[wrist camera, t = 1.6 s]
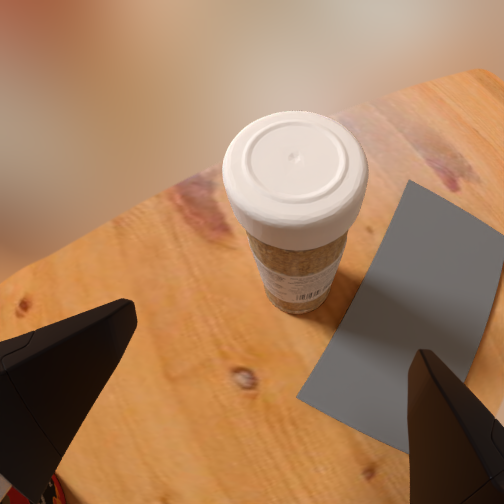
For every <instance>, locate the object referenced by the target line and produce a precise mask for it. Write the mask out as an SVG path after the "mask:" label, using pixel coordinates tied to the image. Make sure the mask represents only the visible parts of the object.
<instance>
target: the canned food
mask: <svg viewBox="0 0 504 504" xmlns="http://www.w3.org/2000/svg"><path fill="white" fill-rule="evenodd" d="M7 495H8V496H9V498H10V504H34V503H33V502H31V501H30V500H29V499H27V498H26V497H25V496H23V495H22V494H21V493H20V492H18V491H17V490H16V489H15V488H13V487H11V488H10V490H9V491H8V492H7ZM37 504H66V501H65V497H64V493H63V491H62V488H61V486H60V484H59V482H58V480H57V478H56V477H55V475H54V474H53V476H52V478H51V480H50V481H49V483H48V485H47V487H46V489H45V491H44V493H43V494H42V496H41V498H40V500H39V502H38V503H37Z"/></svg>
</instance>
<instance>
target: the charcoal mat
mask: <svg viewBox="0 0 504 504" xmlns="http://www.w3.org/2000/svg"><path fill="white" fill-rule="evenodd" d="M503 262H504V235H502V234H501V233H499V232H498V231H496V230H495V229H493V228H492V227H490V226H488V225H487V224H485V223H484V222H482V221H481V220H479V219H477V218H476V217H474V216H473V215H471V214H469V213H468V212H466V211H464V210H463V209H461V208H459V207H458V206H456V205H454V204H453V203H451V202H449V201H447V200H446V199H444V198H442V197H440V196H439V195H437V194H435V193H433V192H432V191H430V190H428V189H426V188H424V187H422V186H420V185H419V184H417V183H415V182H413V181H411V180H409V181H408V183H407V185H406V188H405V190H404V192H403V195H402V197H401V200H400V202H399V204H398V207H397V209H396V211H395V214H394V216H393V218H392V220H391V223H390V225H389V227H388V229H387V232H386V234H385V236H384V238H383V240H382V242H381V245H380V247H379V249H378V251H377V253H376V255H375V257H374V259H373V261H372V263H371V265H370V268H369V270H368V272H367V274H366V276H365V278H364V280H363V282H362V283H361V285H360V287H359V289H358V291H357V293H356V295H355V297H354V299H353V301H352V303H351V305H350V306H349V308H348V310H347V312H346V314H345V316H344V318H343V319H342V321H341V323H340V325H339V327H338V328H337V330H336V332H335V334H334V335H333V337H332V339H331V341H330V342H329V344H328V346H327V348H326V349H325V351H324V353H323V354H322V356H321V358H320V359H319V361H318V363H317V364H316V366H315V368H314V369H313V371H312V373H311V374H310V376H309V377H308V379H307V381H306V382H305V384H304V385H303V387H302V389H301V390H300V392H299V393H298V395H297V396H296V398H298V399H300V400H301V401H303V402H305V403H307V404H309V405H310V406H312V407H314V408H316V409H318V410H320V411H321V412H323V413H325V414H327V415H329V416H331V417H333V418H335V419H336V420H338V421H340V422H342V423H344V424H346V425H348V426H350V427H352V428H354V429H356V430H358V431H360V432H362V433H364V434H366V435H368V436H370V437H372V438H375V439H377V440H379V441H381V442H383V443H385V444H387V445H389V446H392V447H394V448H396V449H398V450H401V451H403V452H405V453H407V454H409V440H408V425H407V398H408V370H409V367H410V365H411V363H412V361H413V358H414V356H415V354H416V352H417V350H418V349H430V350H432V351H433V352H434V353H435V354H436V355H437V356H438V357H439V358H440V359H441V360H442V361H443V362H444V363H445V364H446V365H447V366H448V367H449V368H450V369H451V370H452V372H453V373H454V374H455V375H456V376H457V377H458V378H459V379H460V380H461V381H462V382H463V383H464V381H465V379H466V376H467V374H468V372H469V369H470V367H471V365H472V362H473V360H474V357H475V354H476V352H477V349H478V347H479V344H480V341H481V338H482V336H483V333H484V330H485V327H486V324H487V321H488V318H489V314H490V311H491V308H492V305H493V301H494V298H495V294H496V290H497V287H498V283H499V279H500V275H501V271H502V266H503Z"/></svg>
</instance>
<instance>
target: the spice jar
mask: <svg viewBox="0 0 504 504" xmlns="http://www.w3.org/2000/svg"><path fill="white" fill-rule="evenodd" d="M222 172H223V182H224V186H225V189H226V193H227V196H228V199H229V202H230V204H231V207H232V209H233V212H234V214H235V216H236V218H237V220H238V221H239V223H240V224H241V225H242V226H243V227H244V228H245V230H246V233H247V236H248V241H249V245H250V248H251V250H252V253H253V256H254V258H255V261H256V264H257V267H258V270H259V272H260V275H261V278H262V281H263V283H264V288H265V291H266V294H267V297H268V298H269V300H270V301H271V302H272V303H273V305H274V306H275V307H277V308H279V309H280V310H282V311H284V312H287V313H292V314H303V313H307V312H310V311H311V310H314V309H316V308H317V307H319V306H320V305H321V304H322V303H323V302H324V300H325V299H326V297H327V295H328V293H329V291H330V288H331V283H332V281H333V279H334V276H335V274H336V271H337V269H338V266H339V263H340V260H341V257H342V254H343V251H344V248H345V245H346V241H347V233H348V229H349V228H350V227H351V226H352V224H353V223H354V222H355V220H356V217H357V215H358V213H359V211H360V208H361V205H362V202H363V199H364V195H365V191H366V187H367V182H368V162H367V158H366V155H365V152H364V150H363V148H362V146H361V144H360V143H359V141H358V140H357V139H356V137H355V136H354V135H353V134H352V133H351V132H350V131H349V130H348V129H347V128H345V127H344V126H343V125H341V124H340V123H338V122H337V121H335V120H333V119H331V118H328V117H326V116H323V115H320V114H315V113H312V112H305V111H285V112H279V113H274V114H270V115H268V116H265V117H262V118H260V119H258V120H256V121H254V122H252V123H251V124H249V125H248V126H246V127H245V128H244V129H243V130H242V131H240V132H239V133H238V135H237V136H236V137H235V138H234V139H233V141H232V142H231V144H230V145H229V147H228V149H227V152H226V155H225V157H224V161H223V167H222Z"/></svg>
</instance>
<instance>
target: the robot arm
mask: <svg viewBox="0 0 504 504" xmlns="http://www.w3.org/2000/svg"><path fill="white" fill-rule="evenodd" d="M136 327H137V316H136V310H135V305H134V302H133V301H132V300H128V299H124V298H121V299H118V300H116V301H113V302H110V303H107V304H105V305H102V306H99V307H97V308H94V309H91V310H88V311H86V312H83V313H80V314H78V315H75V316H72V317H69V318H67V319H64V320H61V321H59V322H56V323H53V324H50V325H48V326H45V327H42V328H40V329H37V330H35V331H31V332H29V333H26V334H23V335H20V336H17V337H14V338H11V339H8V340H5V341H1V342H0V504H10V498H9V496H8V495H7V492H8V491H9V490H10V488H11V487H13V488H15V489H16V490H17V491H18V492H20V493H21V494H22V495H23V496H25V497H26V498H27V499H29V500H30V501H31V502H33V503H34V504H37V503H38V502H39V500H40V498H41V496H42V494H43V493H44V491H45V489H46V487H47V485H48V483H49V481H50V480H51V478H52V476H53V474H54V472H55V470H56V469H57V467H58V465H59V463H60V461H61V460H62V457H63V456H64V454H65V452H66V450H67V449H68V447H69V445H70V443H71V442H72V440H73V438H74V436H75V435H76V433H77V431H78V430H79V428H80V426H81V424H82V423H83V421H84V419H85V418H86V416H87V414H88V413H89V411H90V409H91V408H92V406H93V404H94V403H95V401H96V399H97V398H98V396H99V394H100V393H101V391H102V390H103V388H104V386H105V385H106V383H107V381H108V380H109V378H110V377H111V375H112V373H113V372H114V370H115V369H116V367H117V365H118V363H119V362H120V360H121V358H122V356H123V354H124V352H125V350H126V348H127V346H128V344H129V342H130V340H131V338H132V335H133V333H134V331H135V329H136ZM407 425H408V440H409V463H410V504H504V427H503V426H502V425H501V423H500V422H499V421H498V420H497V419H495V417H494V416H493V415H492V413H491V412H490V411H489V410H488V409H487V408H486V407H485V406H484V405H483V404H482V402H481V401H480V400H479V399H478V398H477V397H476V396H475V395H474V394H473V393H472V392H471V391H470V389H469V388H468V387H467V386H466V385H465V384H464V383H463V382H462V381H461V380H460V379H459V378H458V377H457V376H456V375H455V374H454V373H453V372H452V370H451V369H450V368H449V367H448V366H447V365H446V364H445V363H444V362H443V361H442V360H441V359H440V358H439V357H438V356H437V355H436V354H435V353H434V352H433V351H432V350H430V349H418V350H417V352H416V354H415V356H414V358H413V361H412V363H411V365H410V367H409V370H408V398H407Z"/></svg>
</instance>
